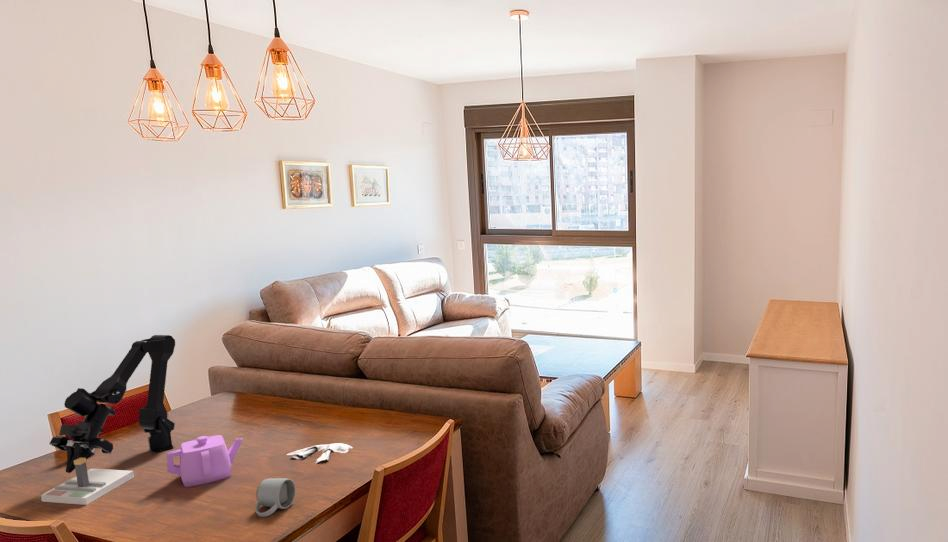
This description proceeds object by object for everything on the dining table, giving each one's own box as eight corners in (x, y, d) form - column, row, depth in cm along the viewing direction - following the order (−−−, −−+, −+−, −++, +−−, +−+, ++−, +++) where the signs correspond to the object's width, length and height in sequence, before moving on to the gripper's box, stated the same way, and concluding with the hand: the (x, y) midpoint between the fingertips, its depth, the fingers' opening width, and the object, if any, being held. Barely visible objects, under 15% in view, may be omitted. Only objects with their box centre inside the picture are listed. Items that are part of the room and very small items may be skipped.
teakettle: (163, 486, 193) (158, 446, 192) (202, 462, 210) (198, 425, 208) (211, 490, 188) (206, 449, 187) (247, 465, 205) (243, 428, 203)
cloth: (361, 447, 215) (360, 440, 215) (321, 475, 195) (320, 467, 195) (311, 441, 224) (310, 434, 223) (268, 467, 204) (267, 460, 203)
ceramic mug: (272, 497, 181) (269, 471, 180) (297, 500, 178) (294, 473, 177) (248, 517, 171) (244, 489, 170) (274, 520, 168) (270, 492, 167)
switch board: (92, 474, 205) (91, 466, 205) (134, 476, 201) (133, 468, 201) (41, 501, 188) (40, 492, 188) (86, 504, 184) (85, 495, 184)
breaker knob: (83, 484, 193) (79, 457, 192) (89, 484, 192) (85, 457, 191) (77, 487, 190) (73, 460, 189) (83, 488, 190) (79, 460, 189)
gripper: (50, 410, 196) (21, 460, 187) (100, 412, 191) (73, 463, 182) (75, 426, 204) (50, 474, 195) (124, 428, 199) (100, 478, 190)
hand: (67, 472), depth 190 cm, fingers closed
